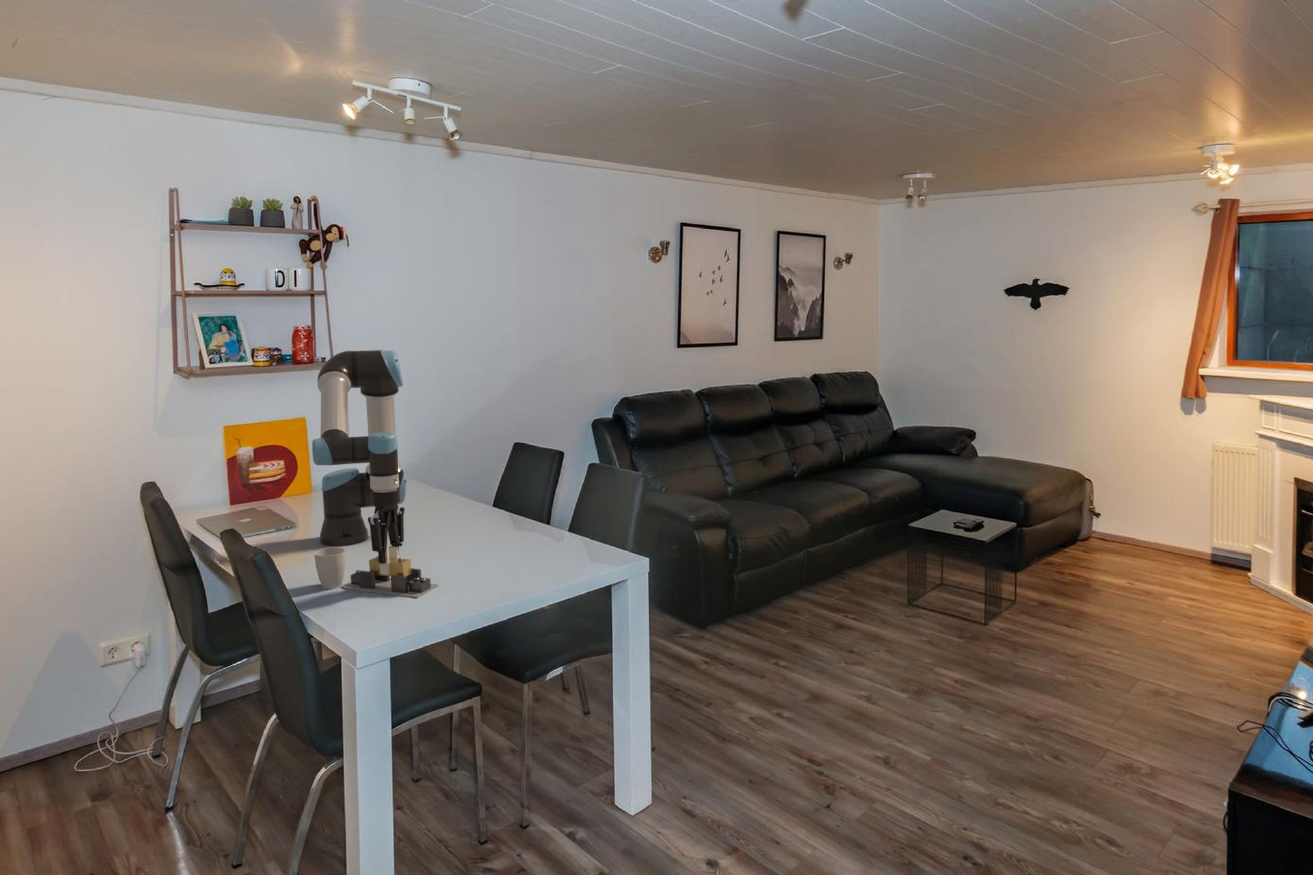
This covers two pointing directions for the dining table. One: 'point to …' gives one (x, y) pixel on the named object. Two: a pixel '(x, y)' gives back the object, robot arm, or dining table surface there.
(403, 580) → the grey assembly fixture
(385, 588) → the mat
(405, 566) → the gold rectangular block
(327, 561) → the cup
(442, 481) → the dining table surface
